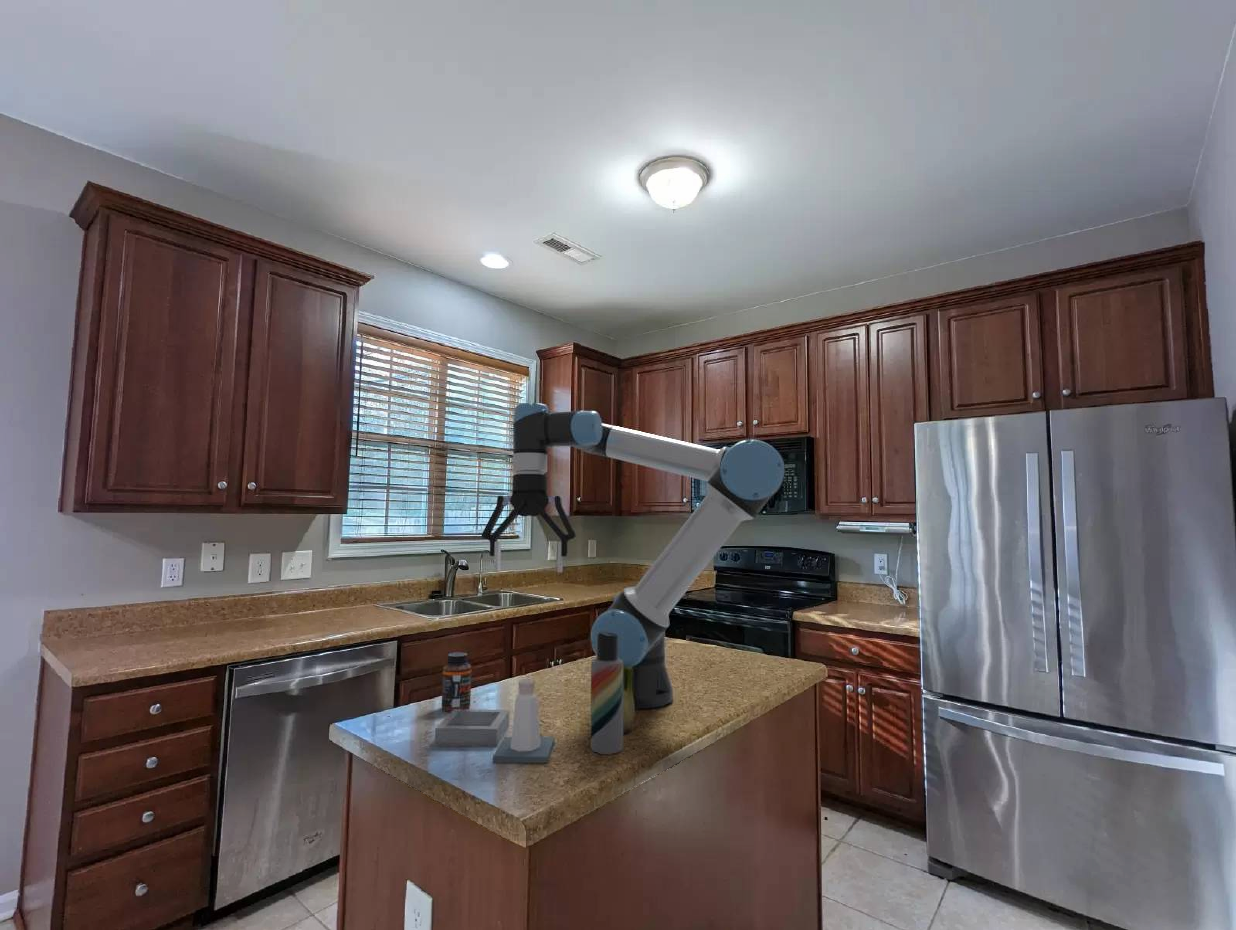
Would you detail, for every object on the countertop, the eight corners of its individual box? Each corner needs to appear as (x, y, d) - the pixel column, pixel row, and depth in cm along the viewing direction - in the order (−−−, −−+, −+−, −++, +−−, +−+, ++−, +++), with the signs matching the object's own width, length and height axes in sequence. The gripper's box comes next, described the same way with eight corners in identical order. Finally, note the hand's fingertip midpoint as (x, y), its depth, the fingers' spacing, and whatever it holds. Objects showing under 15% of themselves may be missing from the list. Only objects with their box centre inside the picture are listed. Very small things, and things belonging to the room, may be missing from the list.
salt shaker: (515, 754, 100) (516, 686, 101) (505, 743, 105) (506, 678, 106) (546, 748, 103) (546, 682, 104) (534, 738, 108) (535, 675, 109)
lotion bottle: (589, 743, 108) (590, 629, 110) (621, 742, 109) (621, 629, 110) (591, 755, 102) (591, 635, 104) (624, 754, 103) (624, 634, 105)
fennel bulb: (602, 735, 112) (603, 669, 113) (605, 726, 117) (605, 663, 118) (634, 736, 112) (634, 669, 113) (635, 727, 117) (635, 663, 118)
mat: (554, 743, 108) (554, 737, 108) (547, 763, 99) (547, 756, 99) (504, 742, 108) (504, 736, 109) (493, 762, 99) (493, 756, 100)
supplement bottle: (462, 713, 125) (464, 657, 126) (436, 711, 126) (437, 656, 127) (475, 705, 131) (476, 651, 132) (449, 703, 132) (451, 650, 133)
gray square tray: (509, 725, 117) (509, 709, 118) (496, 746, 106) (496, 728, 107) (453, 725, 118) (453, 709, 118) (434, 745, 107) (435, 728, 107)
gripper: (588, 475, 136) (587, 570, 134) (477, 475, 137) (475, 570, 135) (585, 472, 129) (584, 573, 127) (469, 472, 129) (466, 573, 127)
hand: (528, 572), depth 131 cm, fingers open, 13 cm apart
